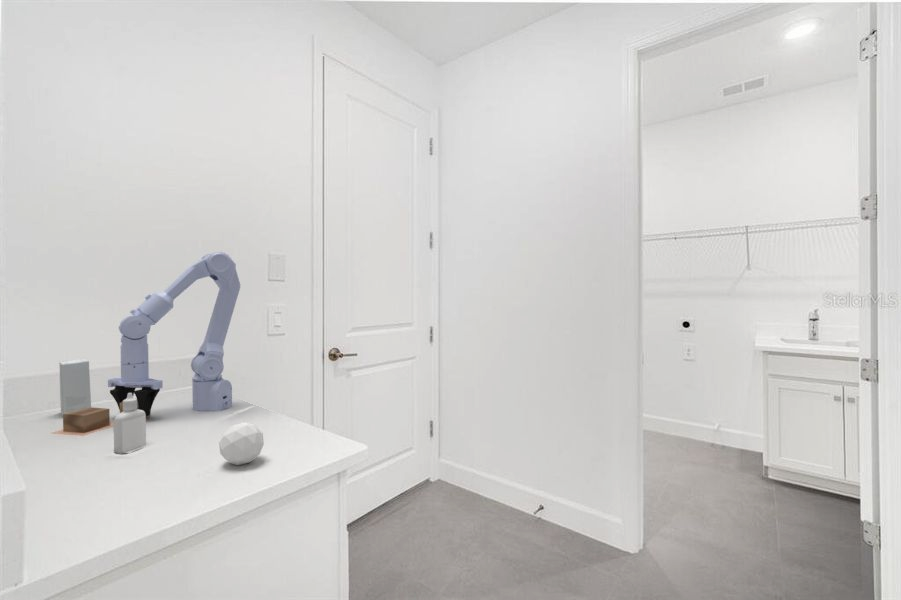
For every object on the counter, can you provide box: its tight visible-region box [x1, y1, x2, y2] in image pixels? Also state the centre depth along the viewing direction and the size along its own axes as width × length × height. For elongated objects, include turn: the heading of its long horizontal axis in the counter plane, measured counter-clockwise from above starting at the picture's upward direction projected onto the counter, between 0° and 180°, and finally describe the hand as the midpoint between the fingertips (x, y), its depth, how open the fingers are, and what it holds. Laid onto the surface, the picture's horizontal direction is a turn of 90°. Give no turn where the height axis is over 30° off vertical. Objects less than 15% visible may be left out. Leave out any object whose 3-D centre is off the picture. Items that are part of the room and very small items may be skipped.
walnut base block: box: [62, 406, 111, 433], centre depth 104 cm, size 6×6×4 cm
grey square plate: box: [51, 422, 114, 437], centre depth 107 cm, size 16×16×1 cm
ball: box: [218, 421, 265, 466], centre depth 85 cm, size 8×8×8 cm
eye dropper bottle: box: [113, 393, 147, 456], centre depth 92 cm, size 4×6×12 cm
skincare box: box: [58, 358, 92, 417], centre depth 117 cm, size 8×6×15 cm
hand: (135, 416), depth 112 cm, fingers open, 5 cm apart
